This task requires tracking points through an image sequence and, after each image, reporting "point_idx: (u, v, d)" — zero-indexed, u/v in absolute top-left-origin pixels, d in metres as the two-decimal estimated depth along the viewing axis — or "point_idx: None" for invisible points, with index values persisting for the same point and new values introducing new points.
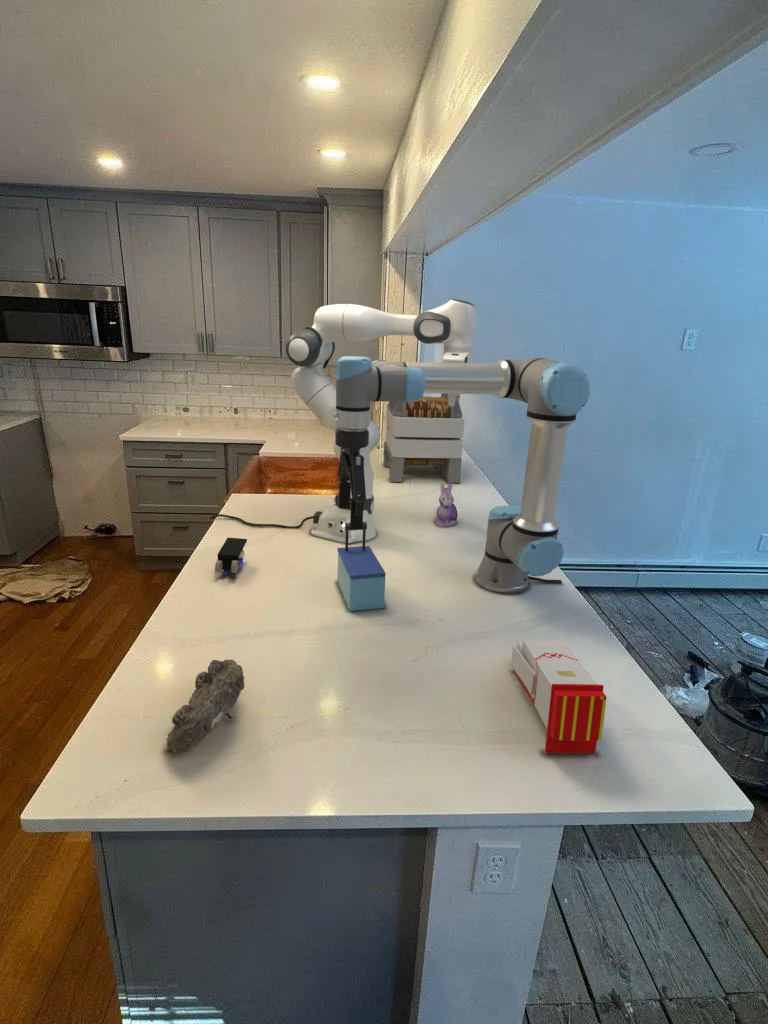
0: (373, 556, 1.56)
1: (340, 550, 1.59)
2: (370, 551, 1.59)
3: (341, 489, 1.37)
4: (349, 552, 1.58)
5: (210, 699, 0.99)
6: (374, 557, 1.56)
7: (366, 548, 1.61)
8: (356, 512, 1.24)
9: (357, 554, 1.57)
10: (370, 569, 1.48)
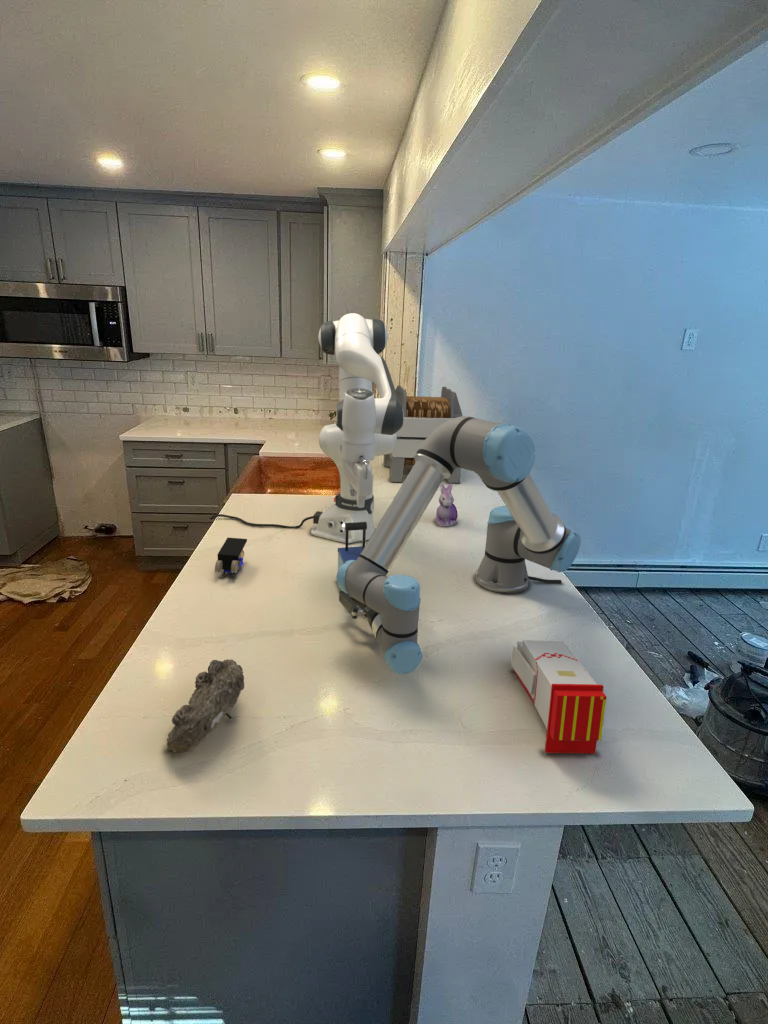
0: None
1: (340, 550, 1.59)
2: None
3: None
4: (349, 552, 1.58)
5: (210, 699, 0.99)
6: None
7: None
8: None
9: (357, 554, 1.57)
10: None
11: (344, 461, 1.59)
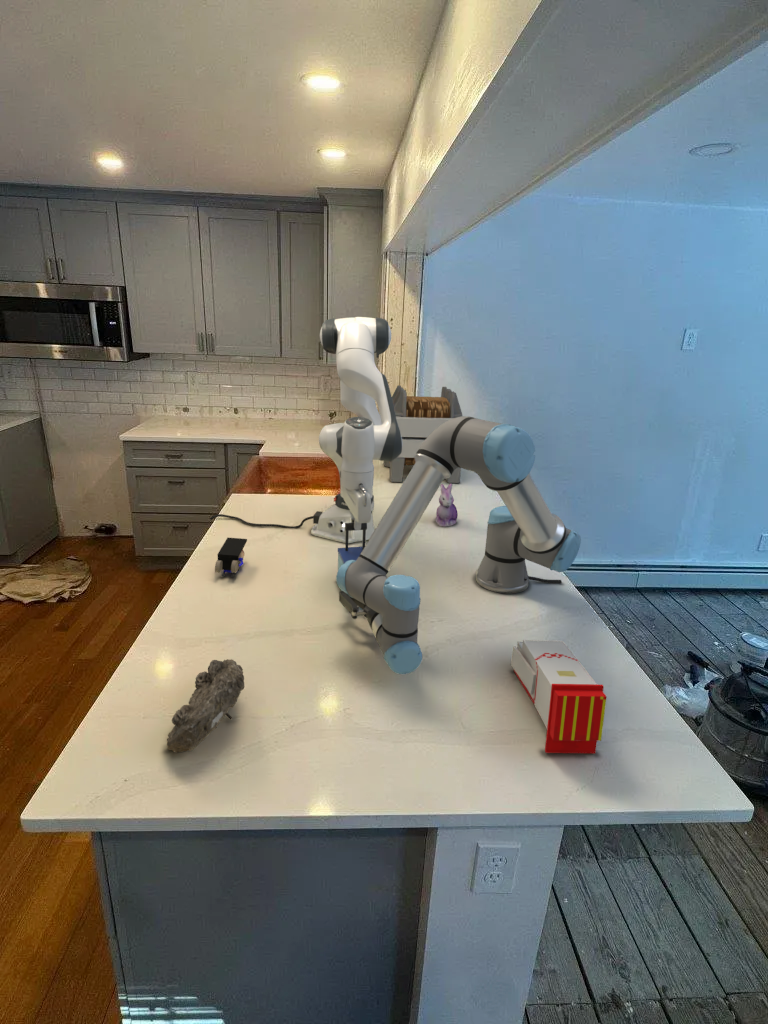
0: None
1: (340, 550, 1.59)
2: None
3: None
4: (349, 552, 1.58)
5: (210, 699, 0.99)
6: None
7: None
8: None
9: (357, 554, 1.57)
10: None
11: (343, 486, 1.61)
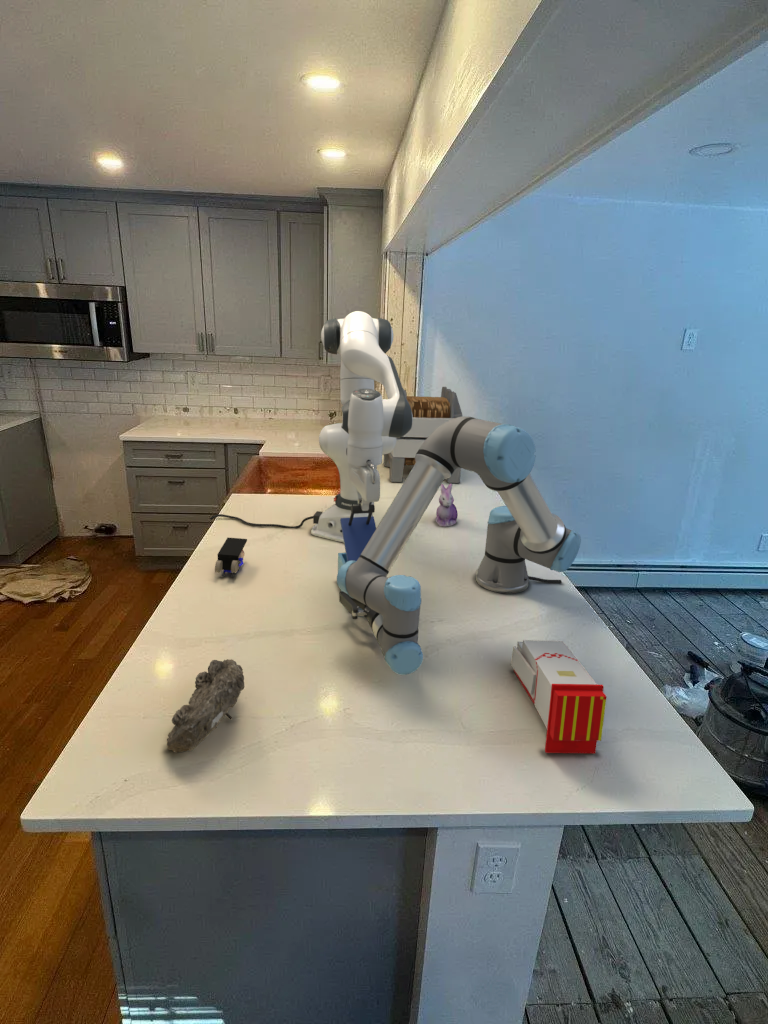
0: None
1: (343, 523, 1.53)
2: (374, 528, 1.54)
3: None
4: (352, 528, 1.52)
5: (210, 699, 0.99)
6: None
7: (370, 522, 1.55)
8: None
9: (360, 533, 1.52)
10: None
11: (350, 465, 1.51)
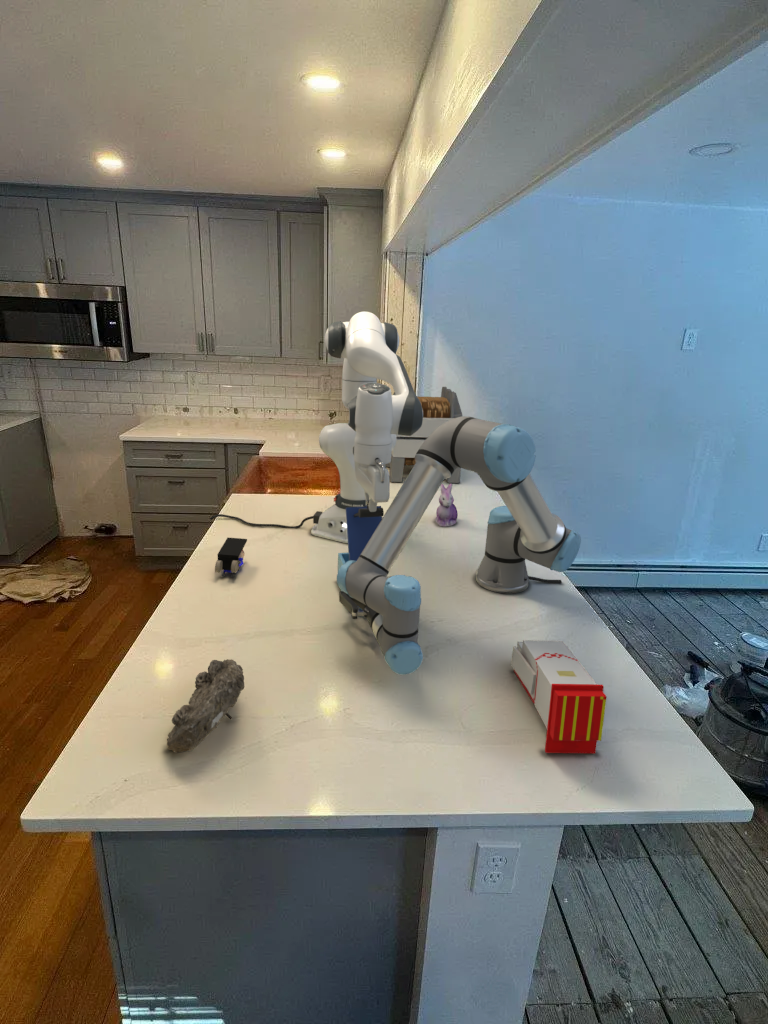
0: None
1: (348, 514, 1.45)
2: (379, 521, 1.47)
3: None
4: (357, 521, 1.46)
5: (210, 699, 0.99)
6: None
7: None
8: None
9: (365, 527, 1.46)
10: None
11: (356, 465, 1.43)
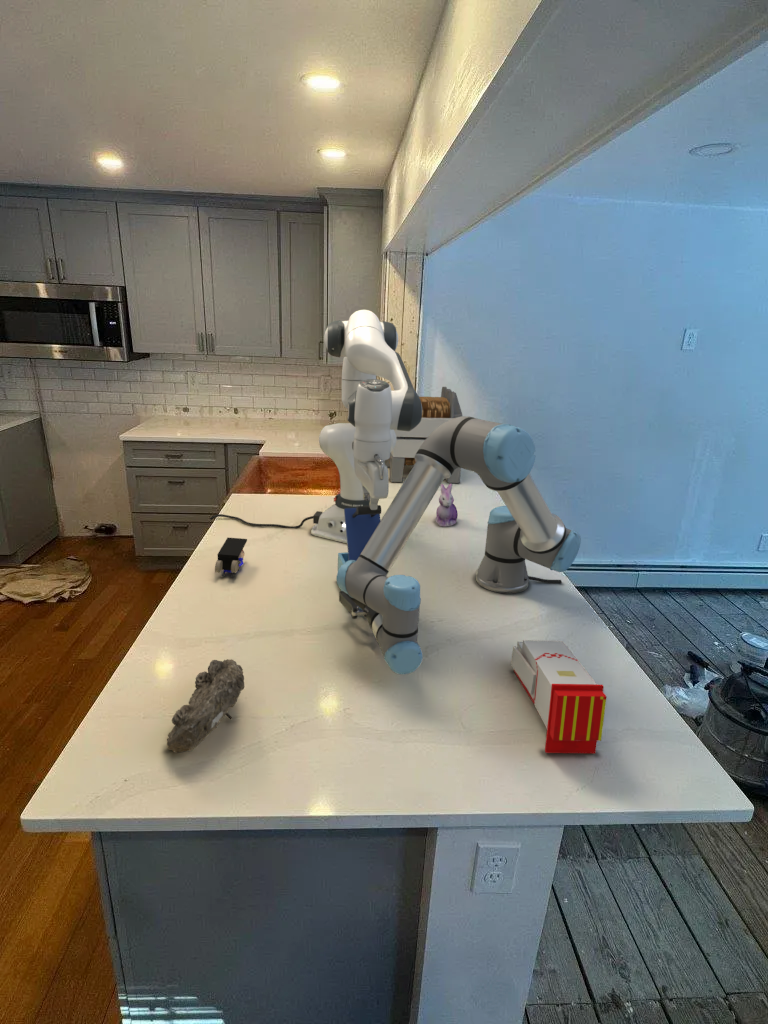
0: None
1: (346, 514, 1.47)
2: (378, 521, 1.49)
3: None
4: (356, 521, 1.47)
5: (210, 699, 0.99)
6: None
7: (375, 513, 1.49)
8: None
9: (363, 527, 1.48)
10: None
11: (356, 460, 1.44)
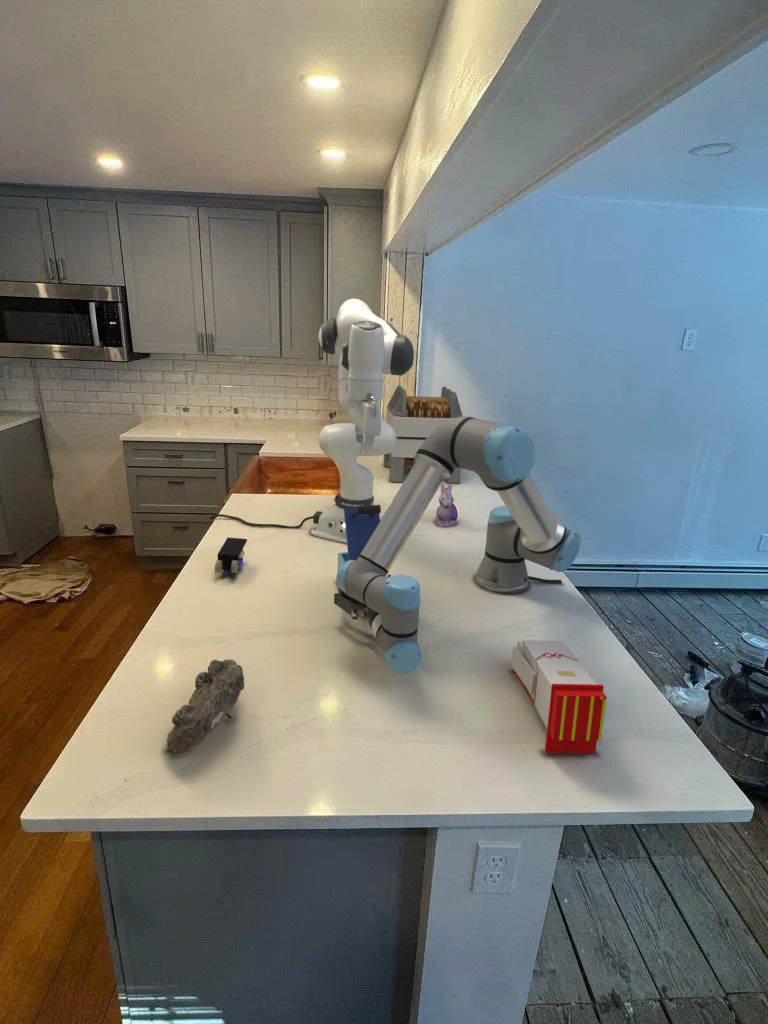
0: None
1: (346, 514, 1.48)
2: (378, 521, 1.49)
3: None
4: (355, 521, 1.48)
5: (210, 699, 0.99)
6: None
7: (374, 513, 1.49)
8: None
9: (363, 527, 1.48)
10: None
11: (350, 404, 1.47)
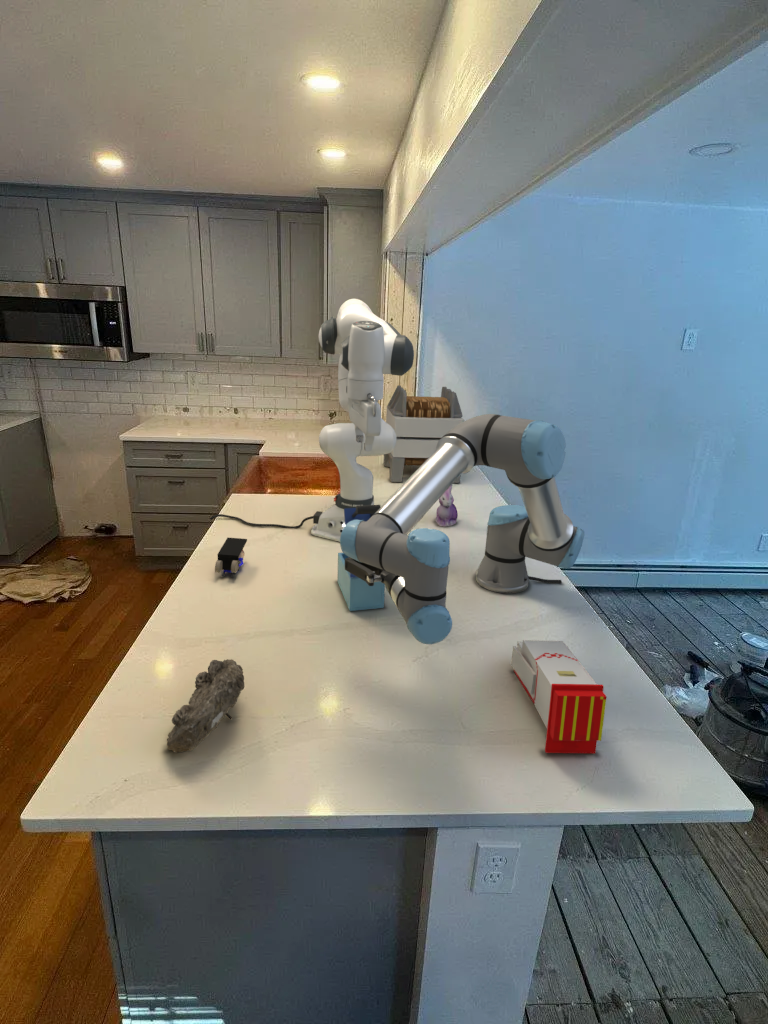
0: None
1: (346, 514, 1.48)
2: None
3: None
4: None
5: (210, 699, 0.99)
6: None
7: None
8: None
9: None
10: None
11: (350, 404, 1.47)
